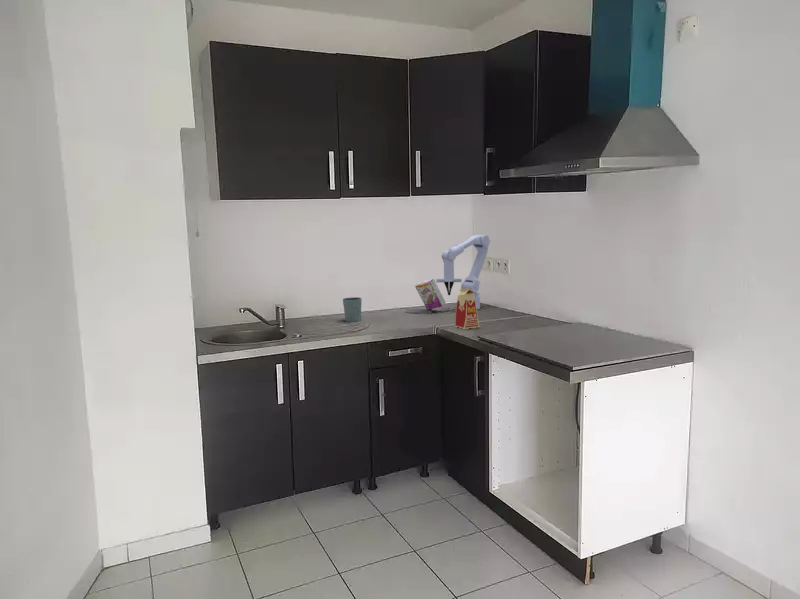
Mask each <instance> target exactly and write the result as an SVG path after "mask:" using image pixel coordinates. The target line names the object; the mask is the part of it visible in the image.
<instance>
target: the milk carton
mask: <svg viewBox="0 0 800 599" xmlns="http://www.w3.org/2000/svg"><path fill="white" fill-rule="evenodd" d="M469 289H470V288H466V289H461V288H460V289H459V293H458V294H457V299H456V307H455V321H454V328H457V327H459V328H458V329H461V328H462V329H461V330H464V329H465V330H470V329H469V328H473V329H477V328H476V327H480V321H479V314H478V309H477V308H476V302H475V296H474V292H472V291H470V290H469Z"/></svg>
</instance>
